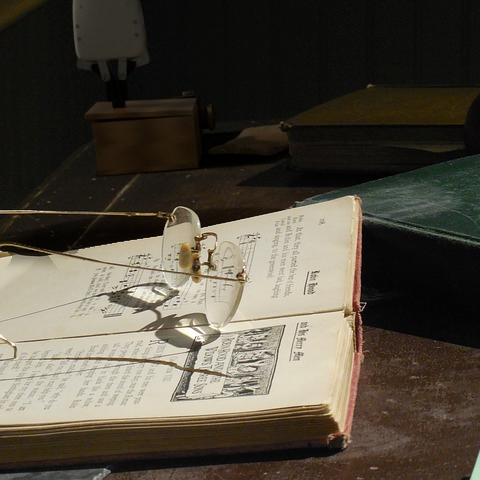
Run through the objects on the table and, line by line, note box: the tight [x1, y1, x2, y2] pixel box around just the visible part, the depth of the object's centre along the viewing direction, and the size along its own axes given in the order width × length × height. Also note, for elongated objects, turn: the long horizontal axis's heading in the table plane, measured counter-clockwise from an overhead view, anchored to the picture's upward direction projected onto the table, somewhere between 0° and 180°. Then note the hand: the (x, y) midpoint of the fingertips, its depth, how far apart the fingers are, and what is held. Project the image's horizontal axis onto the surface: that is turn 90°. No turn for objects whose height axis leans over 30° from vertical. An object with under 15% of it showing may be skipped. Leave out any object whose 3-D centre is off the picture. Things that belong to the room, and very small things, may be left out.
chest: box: [91, 104, 203, 177], centre depth 144 cm, size 15×12×8 cm
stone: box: [206, 124, 290, 157], centre depth 149 cm, size 11×16×3 cm
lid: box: [84, 98, 197, 121], centre depth 143 cm, size 16×12×1 cm
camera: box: [172, 90, 217, 151], centre depth 158 cm, size 16×7×8 cm, turn 1°
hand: (119, 106), depth 143 cm, fingers closed
